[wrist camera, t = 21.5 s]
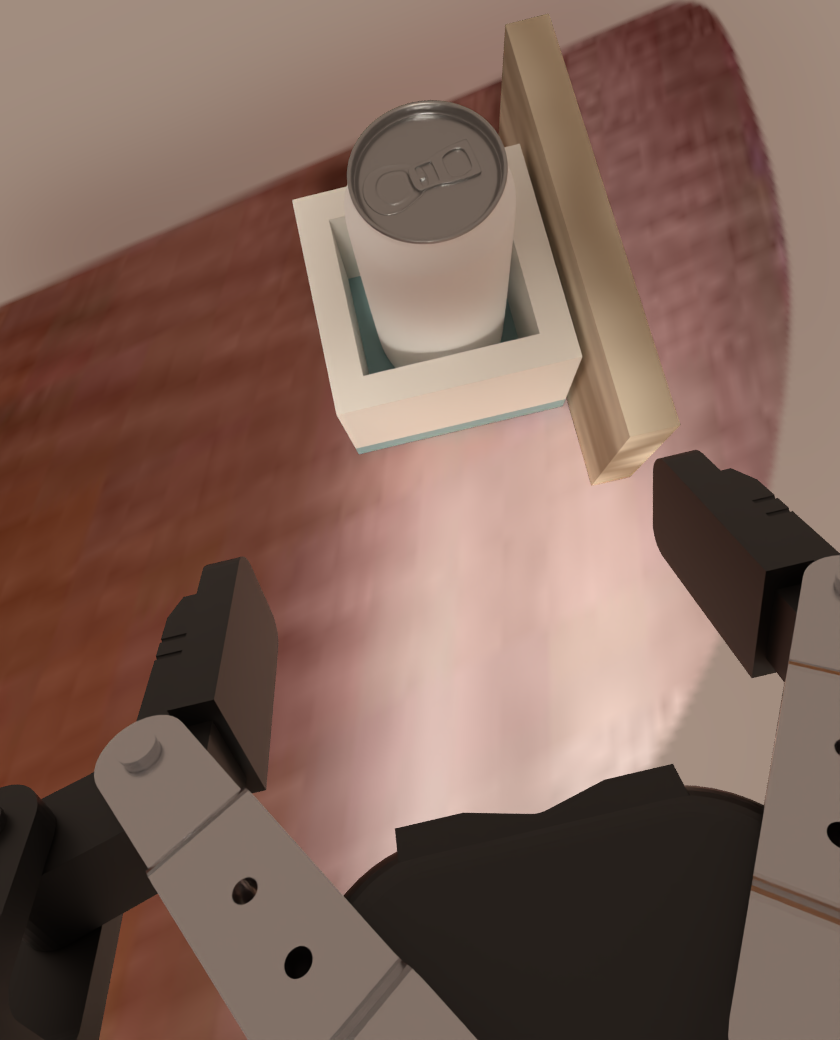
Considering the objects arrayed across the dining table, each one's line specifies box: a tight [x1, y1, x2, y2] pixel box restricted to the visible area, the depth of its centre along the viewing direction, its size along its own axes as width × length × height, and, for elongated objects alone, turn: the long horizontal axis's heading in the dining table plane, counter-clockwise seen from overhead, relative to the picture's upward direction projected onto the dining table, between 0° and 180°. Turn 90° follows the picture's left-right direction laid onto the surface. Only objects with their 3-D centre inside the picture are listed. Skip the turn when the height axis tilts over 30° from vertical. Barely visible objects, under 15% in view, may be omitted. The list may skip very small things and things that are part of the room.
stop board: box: [499, 14, 680, 486], centre depth 31 cm, size 2×20×8 cm, turn 12°
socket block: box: [292, 144, 582, 454], centre depth 32 cm, size 11×11×6 cm
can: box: [344, 100, 516, 368], centre depth 28 cm, size 6×6×12 cm
